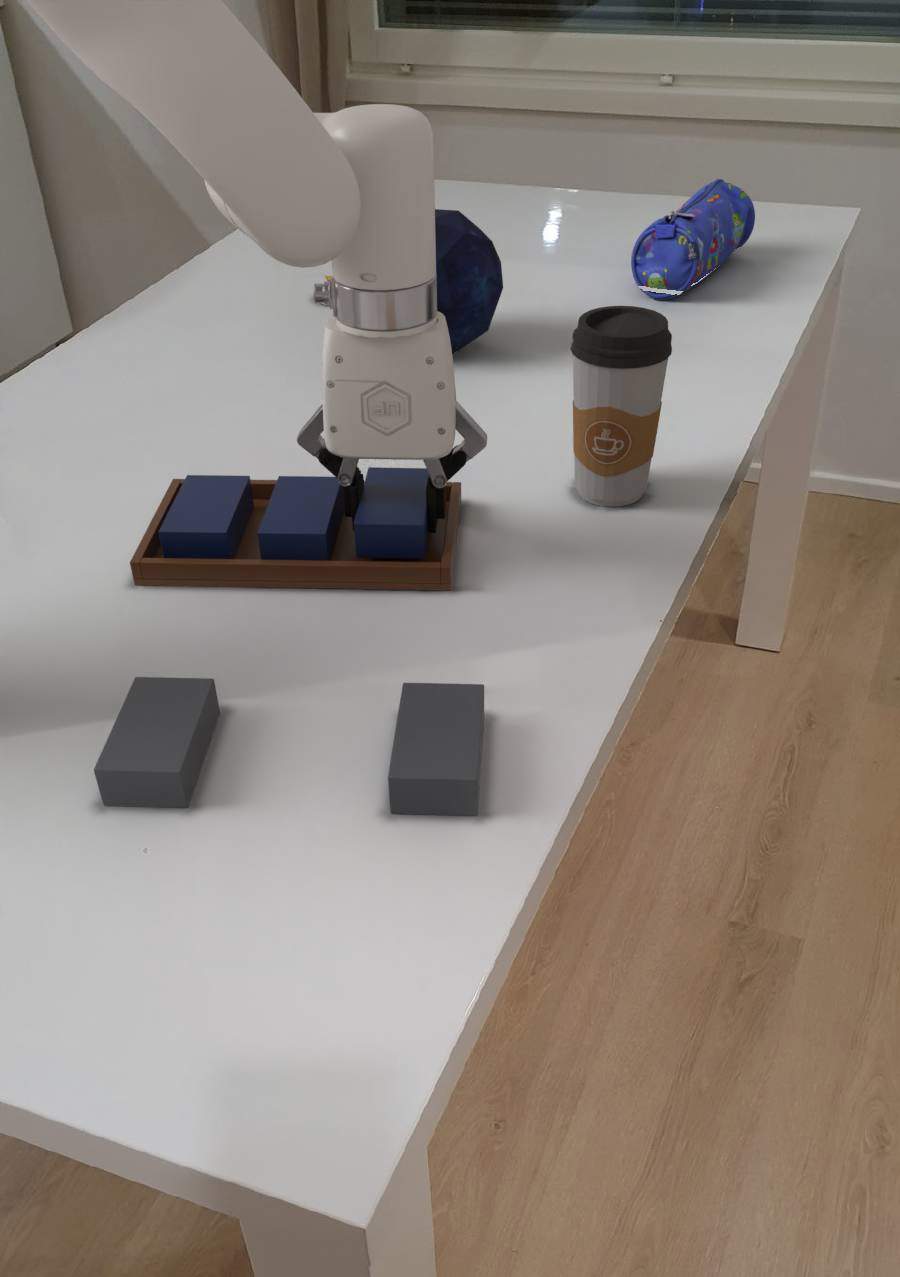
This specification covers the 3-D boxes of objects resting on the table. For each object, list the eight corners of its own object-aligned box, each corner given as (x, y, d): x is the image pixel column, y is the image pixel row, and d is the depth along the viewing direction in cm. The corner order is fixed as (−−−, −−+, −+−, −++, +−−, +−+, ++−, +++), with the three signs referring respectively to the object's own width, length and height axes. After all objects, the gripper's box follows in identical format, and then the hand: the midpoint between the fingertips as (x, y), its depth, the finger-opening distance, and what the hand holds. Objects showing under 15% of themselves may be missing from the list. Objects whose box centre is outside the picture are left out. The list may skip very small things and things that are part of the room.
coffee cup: (553, 506, 106) (560, 334, 96) (576, 465, 112) (585, 299, 102) (647, 519, 104) (664, 344, 94) (665, 476, 110) (683, 308, 100)
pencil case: (689, 309, 142) (699, 223, 135) (622, 298, 145) (628, 213, 139) (752, 256, 156) (764, 175, 150) (690, 247, 159) (698, 167, 153)
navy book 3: (356, 557, 97) (353, 523, 95) (370, 499, 104) (368, 467, 102) (424, 559, 96) (423, 525, 94) (433, 500, 104) (432, 468, 102)
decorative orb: (505, 267, 138) (425, 159, 129) (547, 311, 127) (462, 197, 118) (412, 354, 142) (328, 255, 132) (445, 403, 131) (355, 300, 121)
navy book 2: (261, 566, 98) (257, 533, 96) (282, 507, 105) (278, 475, 103) (328, 567, 97) (325, 534, 96) (344, 508, 105) (342, 476, 103)
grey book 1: (103, 805, 77) (93, 769, 75) (143, 711, 84) (134, 676, 82) (188, 808, 76) (180, 772, 74) (220, 713, 84) (214, 678, 82)
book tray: (134, 585, 97) (129, 562, 96) (176, 500, 108) (172, 478, 107) (451, 590, 96) (450, 567, 94) (461, 503, 106) (461, 481, 105)
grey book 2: (390, 814, 76) (387, 777, 74) (404, 717, 83) (402, 682, 81) (477, 816, 75) (477, 779, 73) (484, 719, 83) (484, 683, 81)
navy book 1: (165, 564, 98) (158, 531, 96) (192, 506, 106) (186, 474, 104) (231, 565, 98) (226, 532, 96) (254, 507, 105) (249, 475, 103)
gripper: (260, 317, 86) (286, 545, 98) (501, 320, 85) (497, 549, 97) (278, 282, 91) (301, 501, 103) (504, 284, 90) (500, 505, 102)
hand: (396, 522), depth 100 cm, fingers closed on navy book 3, 5 cm apart
